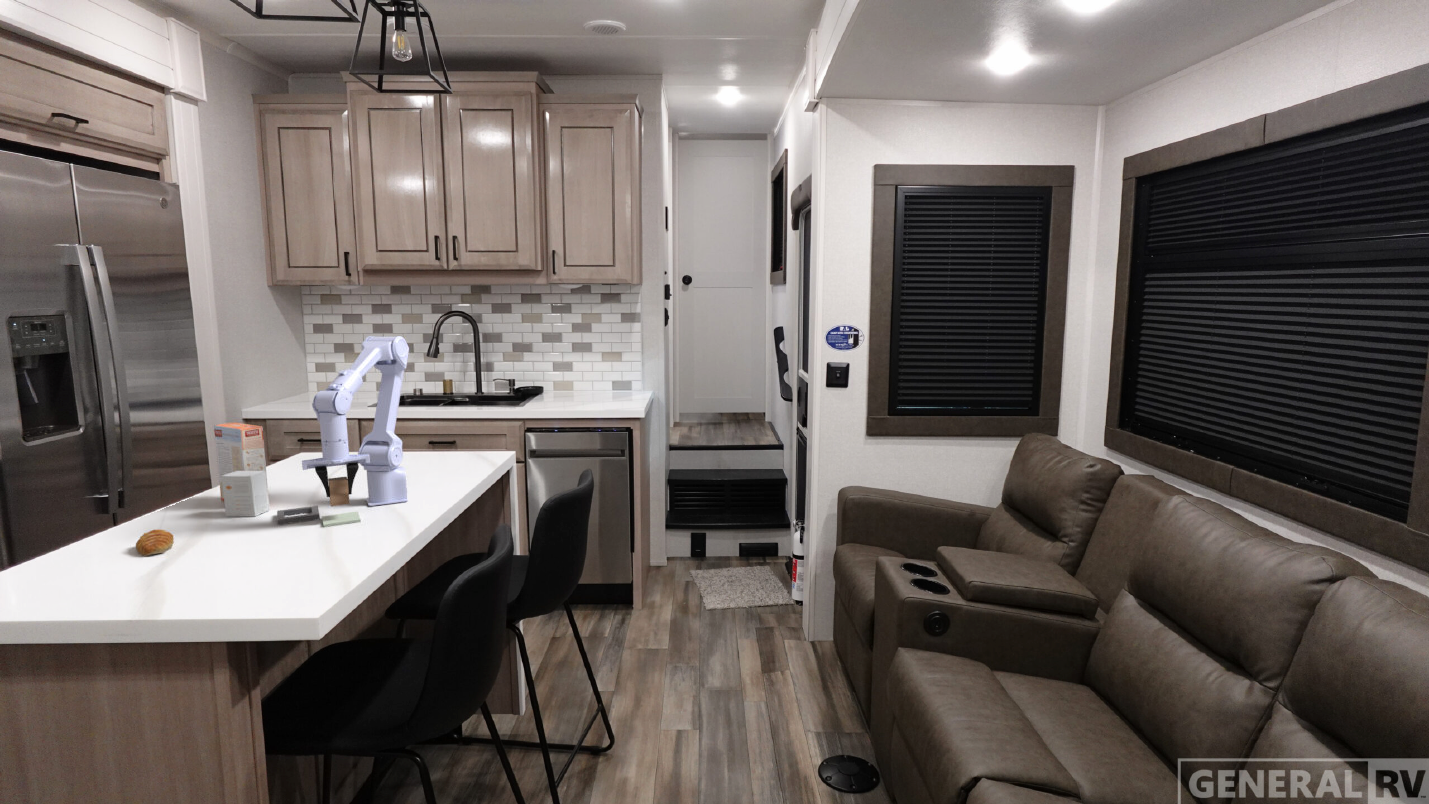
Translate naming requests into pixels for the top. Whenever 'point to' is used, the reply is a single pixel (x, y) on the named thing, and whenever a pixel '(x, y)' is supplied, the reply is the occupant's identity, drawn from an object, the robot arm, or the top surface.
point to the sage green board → (340, 519)
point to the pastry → (154, 542)
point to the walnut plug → (338, 491)
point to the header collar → (282, 519)
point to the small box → (245, 493)
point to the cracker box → (239, 449)
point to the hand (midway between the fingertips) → (339, 494)
